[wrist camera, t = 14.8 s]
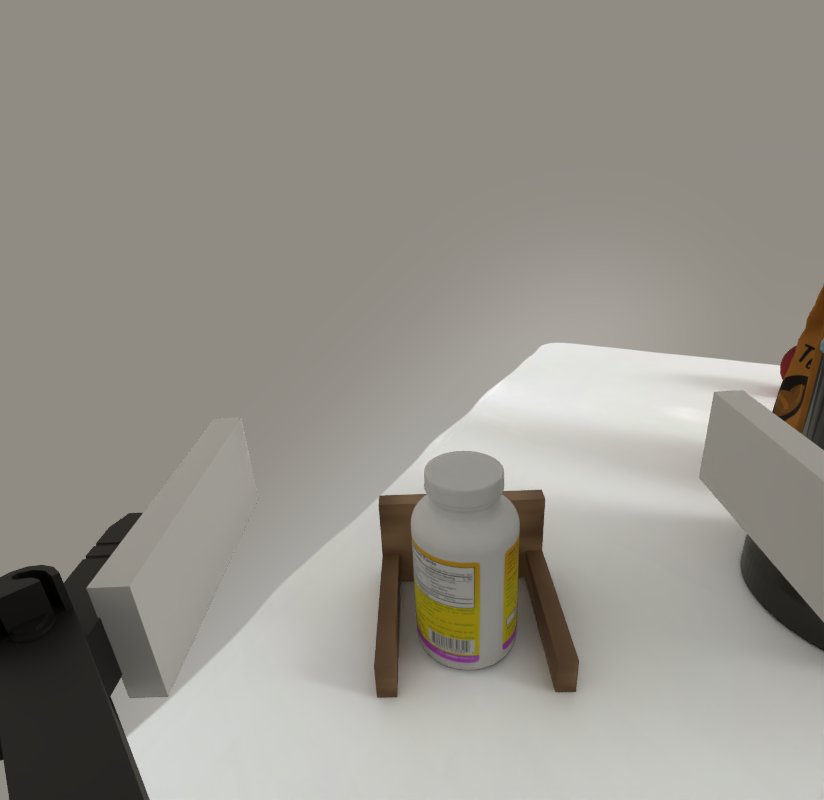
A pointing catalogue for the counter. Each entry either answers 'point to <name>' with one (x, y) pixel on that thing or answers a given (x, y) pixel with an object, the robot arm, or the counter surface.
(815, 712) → the counter surface
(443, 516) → the supplement bottle
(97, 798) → the robot arm
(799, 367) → the coffee package
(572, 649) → the u-shaped wooden bracket
